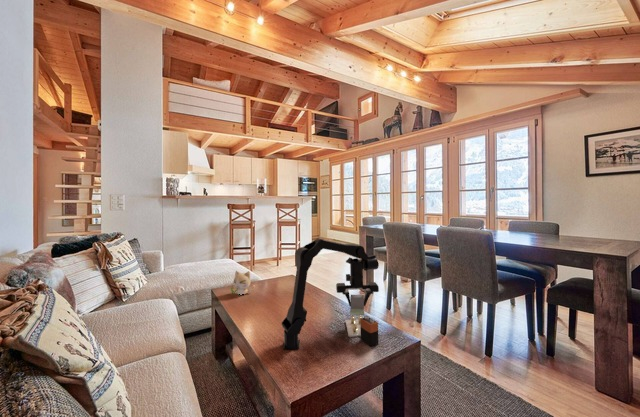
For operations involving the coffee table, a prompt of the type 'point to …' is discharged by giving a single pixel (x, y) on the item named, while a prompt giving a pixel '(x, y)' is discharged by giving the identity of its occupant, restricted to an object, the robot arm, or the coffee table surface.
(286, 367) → the coffee table surface
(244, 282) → the kitten
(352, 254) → the robot arm
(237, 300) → the coffee table surface
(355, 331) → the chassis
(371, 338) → the battery
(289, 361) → the coffee table surface
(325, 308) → the coffee table surface
